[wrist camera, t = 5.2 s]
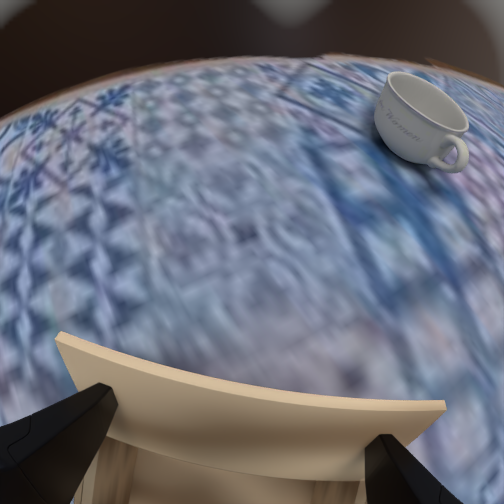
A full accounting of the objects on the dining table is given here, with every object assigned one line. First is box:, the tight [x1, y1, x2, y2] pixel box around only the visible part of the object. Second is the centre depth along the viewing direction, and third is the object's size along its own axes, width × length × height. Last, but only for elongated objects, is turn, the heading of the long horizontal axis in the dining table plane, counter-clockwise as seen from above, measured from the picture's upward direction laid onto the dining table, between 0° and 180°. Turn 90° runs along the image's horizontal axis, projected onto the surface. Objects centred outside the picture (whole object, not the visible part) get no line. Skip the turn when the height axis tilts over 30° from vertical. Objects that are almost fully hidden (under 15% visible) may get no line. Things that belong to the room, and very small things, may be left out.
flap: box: [55, 331, 447, 481], centre depth 9 cm, size 7×12×1 cm
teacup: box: [374, 72, 469, 173], centre depth 29 cm, size 14×11×8 cm
